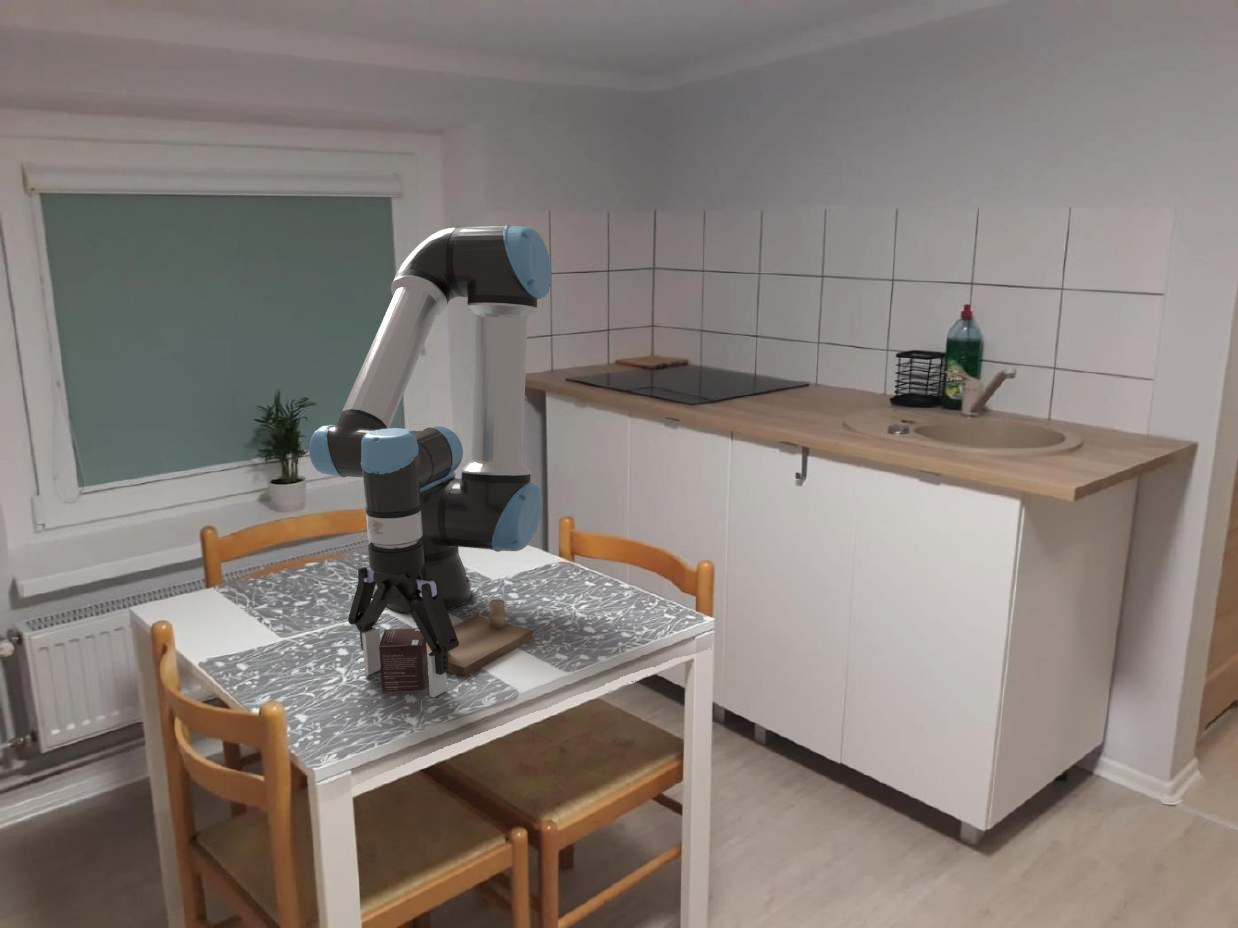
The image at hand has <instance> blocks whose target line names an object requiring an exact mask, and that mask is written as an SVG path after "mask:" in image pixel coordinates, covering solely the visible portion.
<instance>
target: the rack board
mask: <svg viewBox="0 0 1238 928" xmlns="http://www.w3.org/2000/svg"><path fill="white" fill-rule="evenodd" d="M488 606H489V617H486V616H483V615H478V614H475V615H473V616H471V617H469V618H467V619H465V620H463V621H461V622H459V623H456V624H455V625H453V628H454V631H455V633H456V636H457V638H458V641H459V646H458V647H456V648H454V649H452V650H450V651H448V666H449V669H448V671H447V673H452V674H453V675H457V676H461V677H464V678H466V677H467V676H470V675H471V674H474V673H475V672H476V671H479V670H480V669H482V668H484V667H486V666H487V665H489V664H491V663H492V662H495V661H496V660H499V659H500V658H503V656H506V655H507V654H509V653H511V652H512V651H515V650H516V649H518V648H520V647H522V646H524V645H525V644H527V643H529V642H531V641H532V640H534V630H533V629H529V628H525V627H523V626H522V627H521V626H519V625H517V624H511V623H508V622H506V610H505V608H506V605H505V601H504V600H503V599H498V598H497V599H493V600H490V601H489V605H488ZM437 644H439V643H438V641H437ZM426 646H427V653H428V652H430V651H431V649H430V648H429V646H428V644H427V642H426ZM427 663H428V660H427Z"/></svg>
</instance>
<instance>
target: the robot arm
mask: <svg viewBox="0 0 1238 928" xmlns="http://www.w3.org/2000/svg"><path fill="white" fill-rule="evenodd" d="M551 264H552V263H551V260H550V254H549V252H548V248H547V246H546V243H545V241H544V239H543V238H542V236H541V235H540V234H539V232H537V231H536V229H534V228H532V227H528V226H518V225H516V226H515V225H510V224H506V225H492V226H491V225H490V226H489V225H486V226H484V225H483V226H450V227H446V228H443V229H440V230H438V231H437V232H434V233H432V234H431V235H429V236H428V237H427V238H425V239H424V240H423V241H422V242H420V243H419V244H418V245H417V246H416V247H415V248H414V249H413V250H412V251H411V252H410V253H409V254H408V255H407V257H406V258H405V259H404V260H403V262H402V264H401V265H400V266H399V268H398V270H397V272H396V273H395V276H394V279H393V281H392V283H391V286H390V290H391V295H392V299H391V301H390V303H389V305H388V308H387V309H386V311H385V314H384V316H383V319H382V321H381V323H380V325H379V327H378V330H377V333H376V334H375V337H374V339H373V341H372V343H371V346H370V348H369V350H368V353H367V355H366V357H365V359H364V361H363V364H362V366H361V367H360V370H359V372H358V375H357V377H356V379H355V381H354V383H353V386H352V388H351V390H350V393H349V395H348V397H347V400H346V402H345V404H344V406H343V409H342V411H341V413H340V414H339V416H338V419H337V422H336V423H335V424H329V425H322V426H320V427H318V428H317V429H316V430H315V431H314V433H313V434H312V436H311V438H310V441H309V446H308V447H309V448H308V450H309V451H308V452H309V453H308V454H309V459H310V462H311V464H312V466H313V467H314V469H315V470H316V471H317V472H319V473H321V474H324V475H329V476H334V477H340V478H346V477H347V478H348V477H349V478H362V481H363V482H362V483H363V490H364V501H365V516H366V529H367V531H366V532H367V540H368V541H369V544H368V546H367V549H368V561H369V564H368V565H365V566H362V567H361V568H358V570H357V580H358V583H357V587H356V590H355V593H354V596H353V601H352V603H351V607H350V610H349V615H348V618H347V622H348V623H349V625H352V626H353V625H355V627H356V629H357V631H358V632H359V637H360V638H359V639H360V647H361V651H363V652H362V653H363V664H364V675H366V676H371V675H372V674H374V673H377V672H378V671H381V669H380V652H379V645H380V642H381V630H380V627H378V626H376V625H378V624H379V622H378V620H379V619H380V618H381V615H382V614H383V613H384V611H385V609H386V608H389V609H391V610H392V611H396V612H400V613H406V614H409V615H410V616H411V618H412V619H413V621H414V623H415V625H416V628H419V630H420V632H421V634H422V635H423V637H424V639H425V641H426V642H427V644H428V646H429V648H430V649H431V651H430V652H428V653H427V660H428V675H427V676H428V688H429V697H431V698H436V697H437V696H439V695H441V694H443V693H445V692H446V691H448V683H447V673H448V669H449V666H448V651H450V650H452V649H454V648H456V647H458V646H459V641H458V638H457V636H456V633H455V631H454V628H453V626H454V625H453V624H452V620H451V617H450V614H449V613H448V610H452V609H455V608H457V607H459V606H461V605H463V604H466V603H467V602H468V601H469V600H470V598H471V596H472V588H471V587H472V586H471V582H470V579H469V576H467V573H466V570H465V567H464V564H463V562H462V558H461V556H460V552H459V551H460V550H459V549H460V548H468V549H469V548H470V549H479V550H492V551H494V552H496V553H500V552H518V551H522V550H524V549H526V547H528V545H529V544H531V542H532V540H533V539H534V537H535V535H536V533H537V530H538V528H539V524H540V521H541V518H542V517H541V516H542V513H543V496H542V491H541V488H540V487H539V486H538V485H537V484H535V483H534V482H531V470H530V469H529V468H528V467H527V466H526V465H525V464H524V462H523V453H524V452H523V445H524V423H525V421H524V419H525V395H526V390H525V389H526V371H527V370H526V369H527V343H528V342H527V341H528V320H529V319H530V317H532V316H533V315H534V314H535V313H536V312H537V310H538V300H542V299H543V298H545V297H546V296H547V295H548V294H549V292H550V287H551V285H552V265H551ZM460 297H461V298H467V303H466V307H467V308H468V309H469V310H470V311H471V313H472V314H473V315H474V316H475V334H474V335H475V338H474V339H475V340H474V368H473V369H474V370H473V395H472V396H473V397H472V401H473V402H472V422H471V423H472V425H471V426H472V427H471V452H470V453H471V455H470V460H469V462H468V463H467V464H466V465H465V466H463V468H461V478H456V476H457V475H456V472H455V471H456V470H457V469H458V468H459V467H460V465H461V463H462V460H463V455H464V449H463V444H462V441H461V439H460V438H459V436H458V435H457V434H456V433H455V432H454V431H453V430H451V429H450V428H448V427H445V426H434V427H429V426H428V427H426V428H424V429H423V430H411V429H409V428H400V427H399V428H398V427H392V428H391V425H392V423H393V421H394V418H395V415H396V412H397V410H398V409H399V406H400V403H401V401H402V399H403V396H404V393H405V391H406V389H407V386H408V384H409V382H410V379H411V376H412V374H413V372H414V369H415V367H416V365H417V362H418V361H419V357H420V355H421V353H422V351H423V349H424V345H425V343H426V340H427V338H428V336H429V333H430V331H431V329H432V326H433V323H434V321H435V319H436V317H437V316H439V315H441V314H442V313H444V312H445V311H446V308H447V306H448V304H449V302H450V301H451V300H453V299H455V298H460ZM376 586H377V588H376ZM375 588H376V589H375ZM437 641H438V643H439V644H437Z"/></svg>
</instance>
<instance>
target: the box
mask: <svg viewBox="0 0 1238 928" xmlns="http://www.w3.org/2000/svg"><path fill="white" fill-rule="evenodd" d="M379 652H380V669H381V670H380V681H381V682H380V684H381V693H383V694H394V693H411V692H414V693H415V692H424V691H425V690H426V689H425V688H426V685H427V679H428V676H429V675H428V663H427V646H426V641H425V639H424V637H423V635H422V634H421V632H420V630H419V628H418V627H413V628H394V629H393V628H392V629H390V628H389V629H384V631H383V633H382V636H381V638H380V645H379Z"/></svg>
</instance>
